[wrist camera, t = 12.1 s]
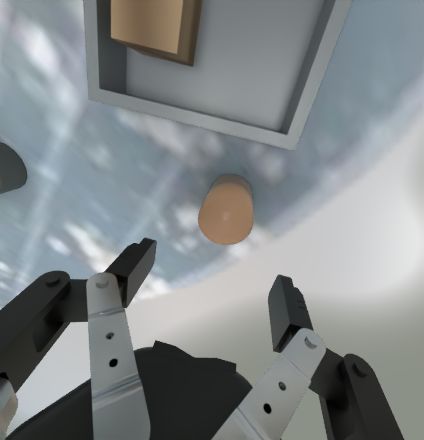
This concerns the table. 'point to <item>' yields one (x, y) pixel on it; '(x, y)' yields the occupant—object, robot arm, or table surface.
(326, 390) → the robot arm
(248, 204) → the tan cylinder
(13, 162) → the candle holder
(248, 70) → the grey tote
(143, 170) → the table surface
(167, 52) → the walnut cube
